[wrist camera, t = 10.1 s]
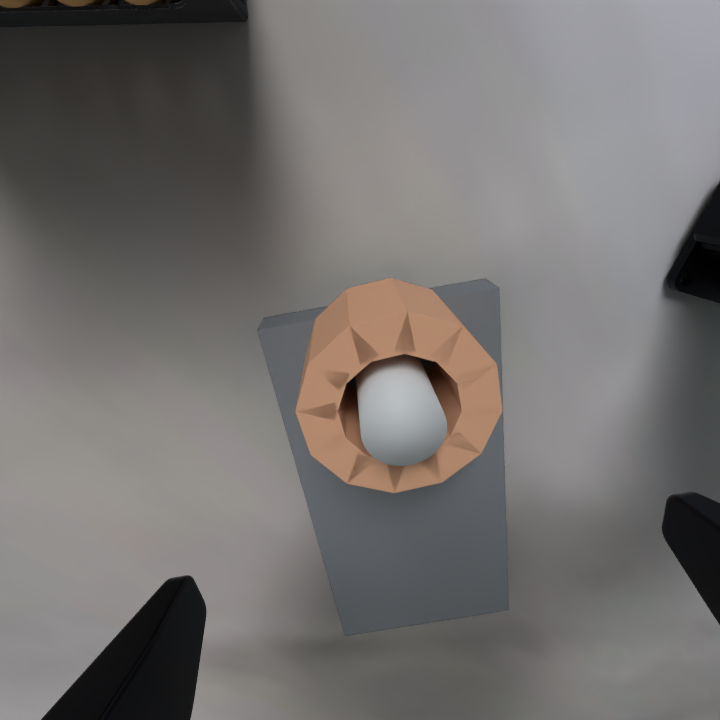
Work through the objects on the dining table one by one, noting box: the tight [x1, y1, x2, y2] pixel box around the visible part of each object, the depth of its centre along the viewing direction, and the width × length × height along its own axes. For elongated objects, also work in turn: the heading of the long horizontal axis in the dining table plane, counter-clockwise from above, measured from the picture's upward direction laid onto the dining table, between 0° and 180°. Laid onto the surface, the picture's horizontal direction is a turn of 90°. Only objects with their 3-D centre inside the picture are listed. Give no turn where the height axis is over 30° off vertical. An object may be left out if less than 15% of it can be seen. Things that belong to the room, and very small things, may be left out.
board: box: [257, 279, 509, 636], centre depth 17 cm, size 18×9×6 cm, turn 10°
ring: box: [295, 278, 502, 493], centre depth 14 cm, size 6×6×4 cm
